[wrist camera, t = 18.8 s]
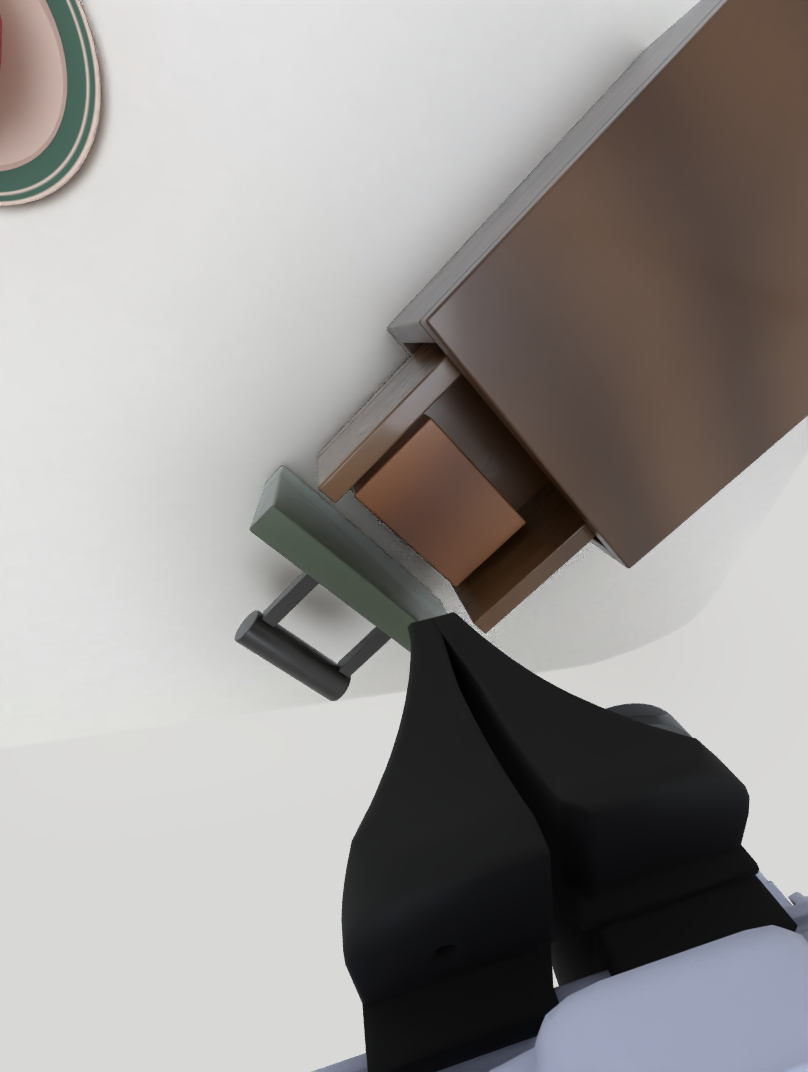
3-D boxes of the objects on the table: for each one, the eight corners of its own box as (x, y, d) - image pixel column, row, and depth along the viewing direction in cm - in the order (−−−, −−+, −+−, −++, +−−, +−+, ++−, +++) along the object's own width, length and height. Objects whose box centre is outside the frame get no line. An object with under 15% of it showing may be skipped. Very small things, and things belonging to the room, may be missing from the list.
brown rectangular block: (504, 503, 21) (527, 522, 18) (441, 563, 21) (456, 588, 19) (417, 408, 18) (431, 417, 16) (348, 478, 19) (353, 496, 17)
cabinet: (542, 507, 23) (629, 570, 17) (386, 328, 19) (424, 320, 12) (760, 306, 21) (954, 290, 15) (646, 48, 17) (857, -139, 10)
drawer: (364, 670, 24) (377, 751, 19) (196, 555, 20) (160, 622, 15) (611, 443, 22) (696, 471, 17) (478, 255, 17) (541, 222, 13)
